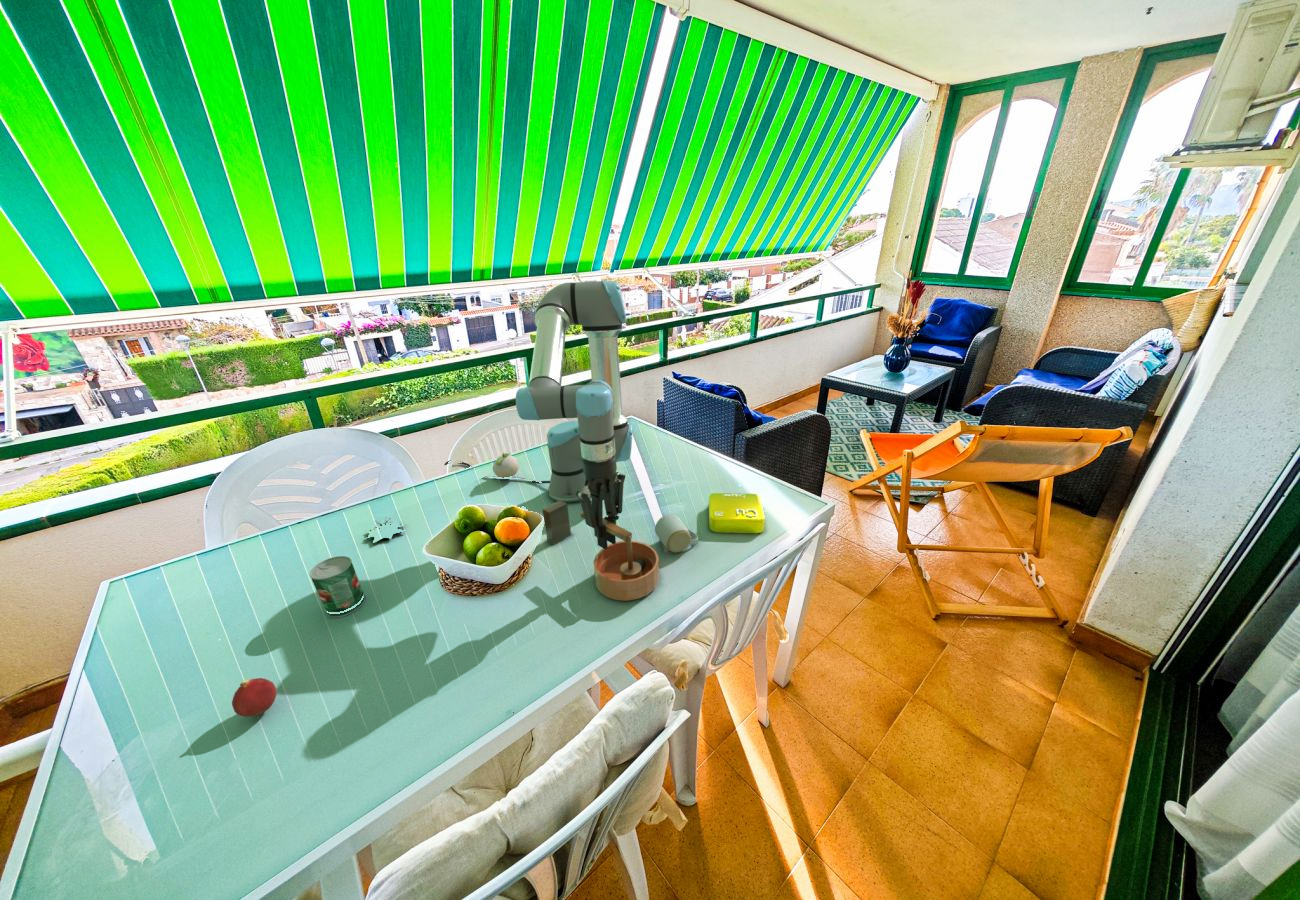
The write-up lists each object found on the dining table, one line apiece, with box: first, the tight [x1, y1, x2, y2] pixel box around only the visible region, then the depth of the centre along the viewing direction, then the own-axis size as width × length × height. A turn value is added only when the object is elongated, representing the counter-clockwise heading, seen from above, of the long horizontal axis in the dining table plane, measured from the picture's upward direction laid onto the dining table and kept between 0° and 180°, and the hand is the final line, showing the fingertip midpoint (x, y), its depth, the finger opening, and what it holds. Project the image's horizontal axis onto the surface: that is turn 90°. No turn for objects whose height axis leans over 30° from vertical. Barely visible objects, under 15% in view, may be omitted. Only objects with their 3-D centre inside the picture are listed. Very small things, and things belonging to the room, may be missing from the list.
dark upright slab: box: [542, 500, 572, 546], centre depth 125 cm, size 3×6×10 cm, turn 137°
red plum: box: [231, 677, 278, 718], centre depth 80 cm, size 6×6×8 cm
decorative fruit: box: [492, 452, 520, 478], centre depth 159 cm, size 9×8×10 cm
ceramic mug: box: [654, 513, 699, 554], centre depth 121 cm, size 11×8×8 cm
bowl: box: [593, 540, 660, 602], centre depth 109 cm, size 15×15×6 cm
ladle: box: [579, 510, 642, 580], centre depth 110 cm, size 18×5×12 cm, turn 47°
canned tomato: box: [309, 555, 366, 619], centre depth 104 cm, size 8×8×11 cm
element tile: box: [708, 492, 766, 534], centre depth 132 cm, size 15×15×5 cm
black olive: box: [634, 558, 645, 570], centre depth 112 cm, size 3×3×3 cm
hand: (606, 543), depth 111 cm, fingers closed on ladle, 2 cm apart
